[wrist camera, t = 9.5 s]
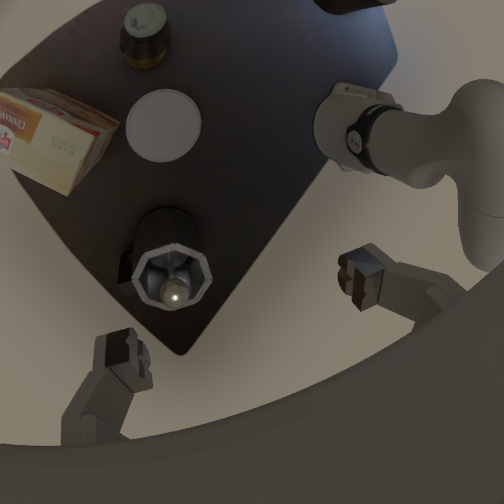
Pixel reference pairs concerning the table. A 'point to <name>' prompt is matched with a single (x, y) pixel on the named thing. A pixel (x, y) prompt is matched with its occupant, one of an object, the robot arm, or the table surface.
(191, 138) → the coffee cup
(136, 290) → the press pot
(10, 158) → the coffeecake box
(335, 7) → the pillar candle
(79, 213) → the table surface
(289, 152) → the table surface
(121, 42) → the sauce bottle
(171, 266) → the plunger
